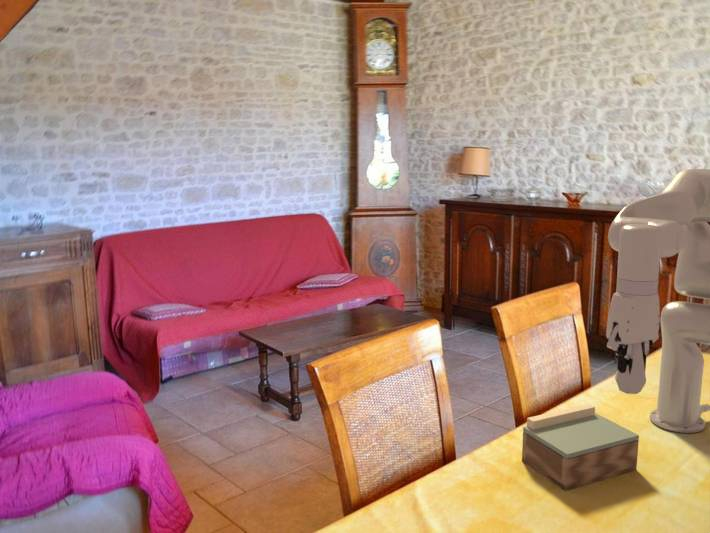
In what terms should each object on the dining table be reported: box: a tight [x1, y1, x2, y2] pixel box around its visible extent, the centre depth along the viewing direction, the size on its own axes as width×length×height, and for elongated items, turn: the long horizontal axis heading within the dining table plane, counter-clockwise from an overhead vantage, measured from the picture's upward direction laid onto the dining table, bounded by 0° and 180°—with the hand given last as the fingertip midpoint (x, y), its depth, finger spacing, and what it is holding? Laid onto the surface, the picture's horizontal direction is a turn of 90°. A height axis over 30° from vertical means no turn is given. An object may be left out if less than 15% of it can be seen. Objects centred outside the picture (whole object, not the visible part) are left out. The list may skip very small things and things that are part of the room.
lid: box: [522, 403, 640, 459], centre depth 141 cm, size 20×14×3 cm
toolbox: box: [521, 431, 640, 492], centre depth 142 cm, size 20×14×7 cm
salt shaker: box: [614, 339, 647, 395], centre depth 130 cm, size 6×6×13 cm
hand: (631, 372), depth 131 cm, fingers closed on salt shaker, 3 cm apart
